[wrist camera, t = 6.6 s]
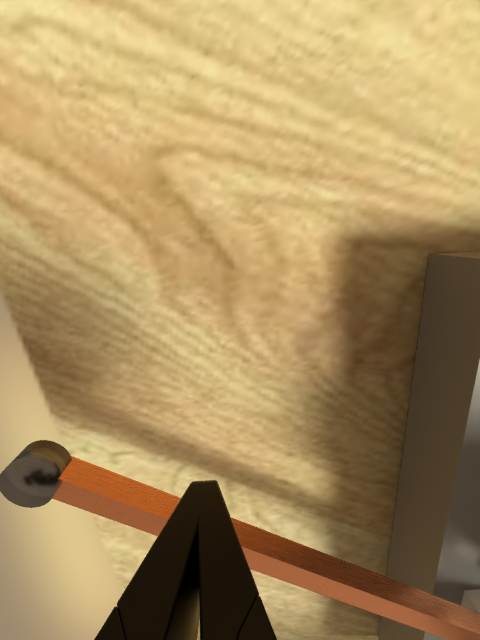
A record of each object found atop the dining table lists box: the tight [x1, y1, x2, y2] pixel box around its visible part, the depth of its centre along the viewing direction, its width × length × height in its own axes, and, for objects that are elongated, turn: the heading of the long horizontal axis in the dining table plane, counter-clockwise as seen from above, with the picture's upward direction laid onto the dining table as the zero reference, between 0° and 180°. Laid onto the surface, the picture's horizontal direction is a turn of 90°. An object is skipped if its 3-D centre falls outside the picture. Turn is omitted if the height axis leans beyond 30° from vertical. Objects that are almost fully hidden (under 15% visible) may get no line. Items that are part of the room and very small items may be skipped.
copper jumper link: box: [0, 440, 480, 640], centre depth 9 cm, size 19×2×1 cm, turn 62°
